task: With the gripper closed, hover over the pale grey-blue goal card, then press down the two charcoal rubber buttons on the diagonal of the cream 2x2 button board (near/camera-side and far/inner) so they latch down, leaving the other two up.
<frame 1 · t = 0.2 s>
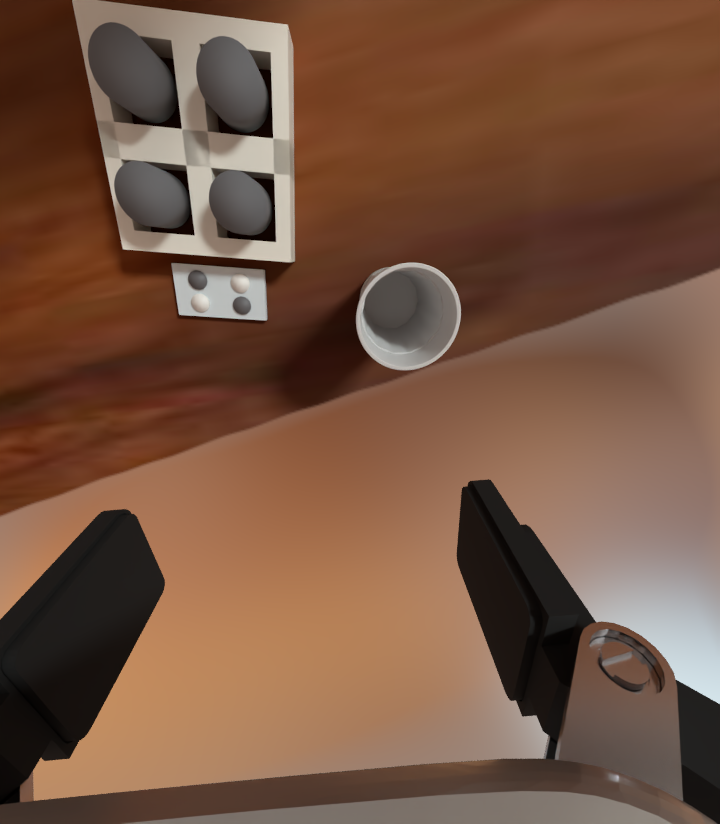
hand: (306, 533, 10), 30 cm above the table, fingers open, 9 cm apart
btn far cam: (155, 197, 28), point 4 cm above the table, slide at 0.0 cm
board: (209, 157, 30), on the table
goal card: (222, 292, 35), on the table
cup: (388, 298, 37), on the table
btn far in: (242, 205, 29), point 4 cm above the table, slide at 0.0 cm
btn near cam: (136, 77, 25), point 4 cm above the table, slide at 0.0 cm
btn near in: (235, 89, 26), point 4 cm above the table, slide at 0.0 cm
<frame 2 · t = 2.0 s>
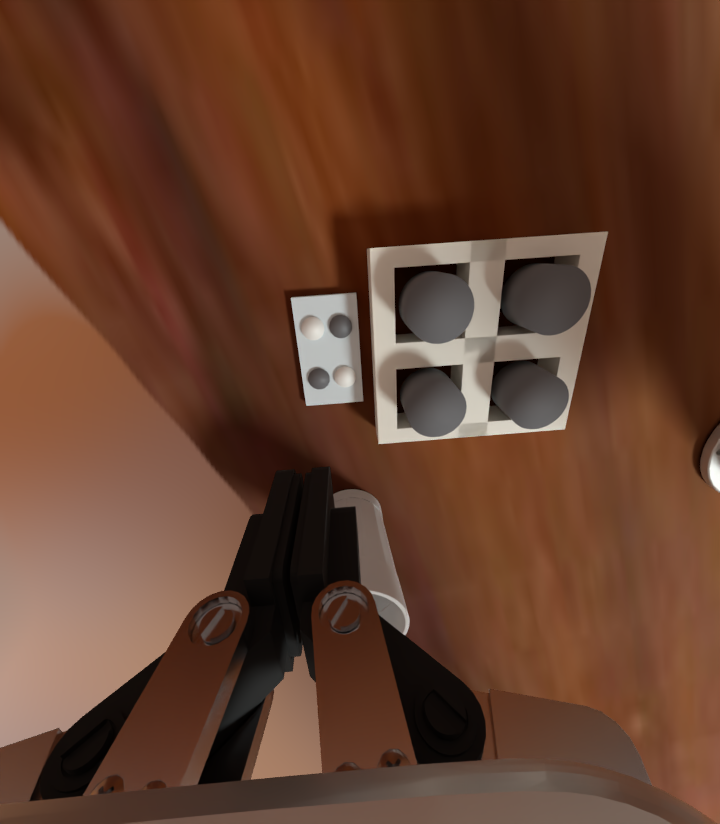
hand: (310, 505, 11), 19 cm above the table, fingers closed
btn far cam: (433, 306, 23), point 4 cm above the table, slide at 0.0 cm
board: (466, 341, 28), on the table
goal card: (329, 351, 28), on the table
cup: (351, 512, 36), on the table
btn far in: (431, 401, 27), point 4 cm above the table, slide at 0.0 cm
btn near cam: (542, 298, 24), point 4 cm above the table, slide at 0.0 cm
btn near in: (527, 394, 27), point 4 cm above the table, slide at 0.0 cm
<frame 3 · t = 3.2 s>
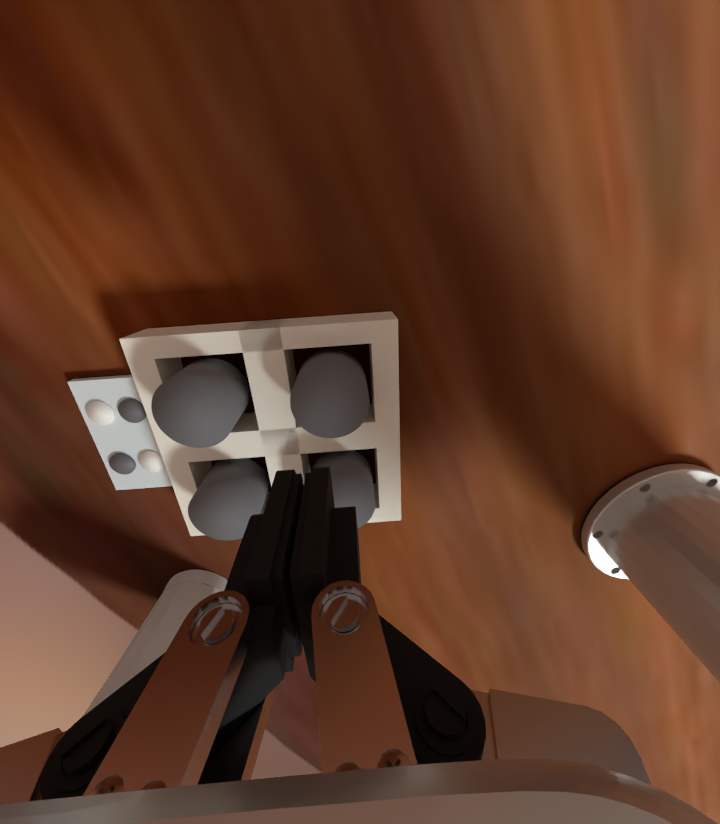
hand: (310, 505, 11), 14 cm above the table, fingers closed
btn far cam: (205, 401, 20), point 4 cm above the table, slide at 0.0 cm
board: (287, 422, 25), on the table
goal card: (132, 433, 25), on the table
cup: (201, 591, 33), on the table
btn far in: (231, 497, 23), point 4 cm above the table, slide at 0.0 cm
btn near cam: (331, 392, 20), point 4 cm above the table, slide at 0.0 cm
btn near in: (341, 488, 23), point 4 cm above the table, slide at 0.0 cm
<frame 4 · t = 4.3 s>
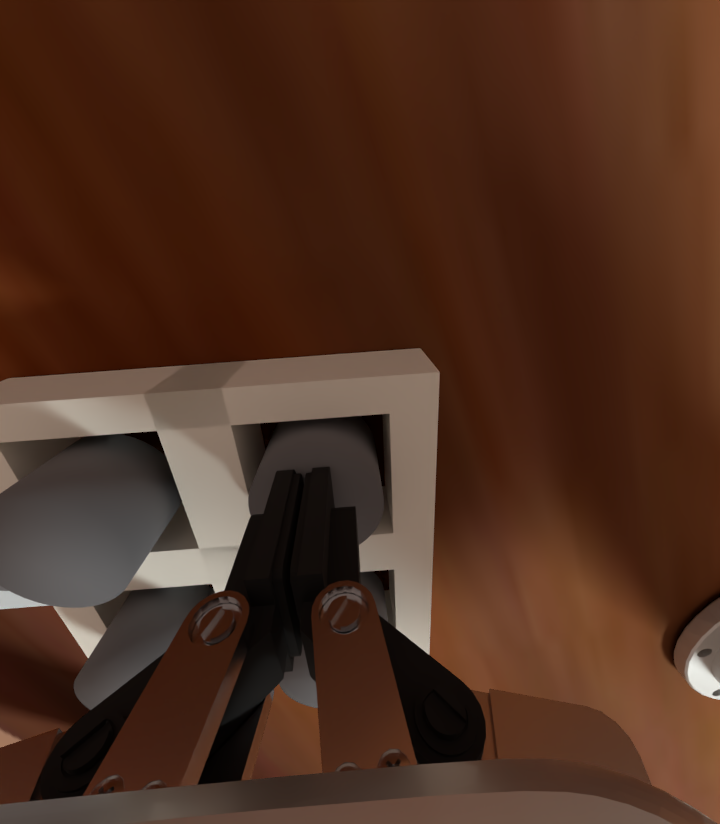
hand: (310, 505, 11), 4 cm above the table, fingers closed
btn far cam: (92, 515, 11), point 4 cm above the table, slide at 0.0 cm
board: (253, 512, 16), on the table
goal card: (14, 531, 16), on the table
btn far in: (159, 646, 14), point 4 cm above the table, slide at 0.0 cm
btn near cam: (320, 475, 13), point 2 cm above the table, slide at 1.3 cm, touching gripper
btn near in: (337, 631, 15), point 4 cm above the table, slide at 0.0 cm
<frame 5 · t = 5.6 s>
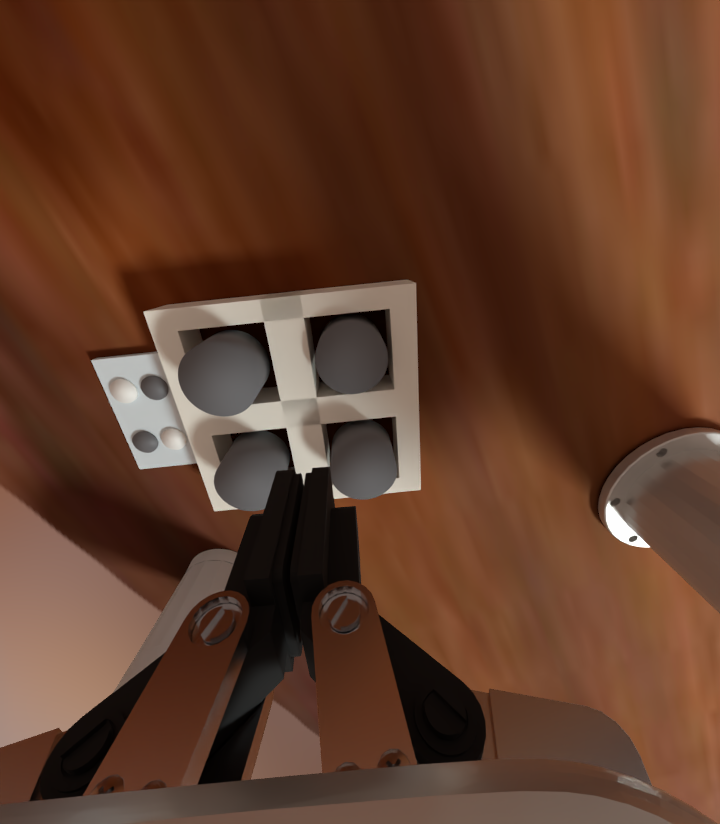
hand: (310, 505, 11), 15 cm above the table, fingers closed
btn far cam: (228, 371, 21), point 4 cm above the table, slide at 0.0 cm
board: (305, 396, 26), on the table
goal card: (154, 411, 26), on the table
cup: (223, 570, 33), on the table
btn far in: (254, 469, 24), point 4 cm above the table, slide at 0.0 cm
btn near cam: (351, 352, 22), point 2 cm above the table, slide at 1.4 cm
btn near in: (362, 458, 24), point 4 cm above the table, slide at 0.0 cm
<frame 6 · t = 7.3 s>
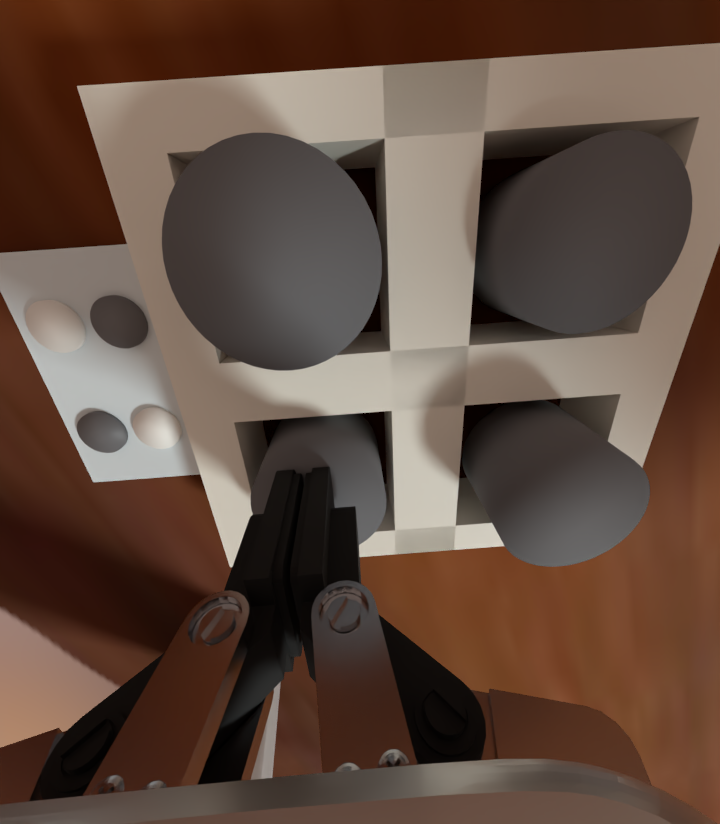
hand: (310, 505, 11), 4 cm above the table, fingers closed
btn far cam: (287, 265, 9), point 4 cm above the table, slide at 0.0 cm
board: (412, 354, 13), on the table
goal card: (121, 375, 13), on the table
cup: (234, 641, 21), on the table
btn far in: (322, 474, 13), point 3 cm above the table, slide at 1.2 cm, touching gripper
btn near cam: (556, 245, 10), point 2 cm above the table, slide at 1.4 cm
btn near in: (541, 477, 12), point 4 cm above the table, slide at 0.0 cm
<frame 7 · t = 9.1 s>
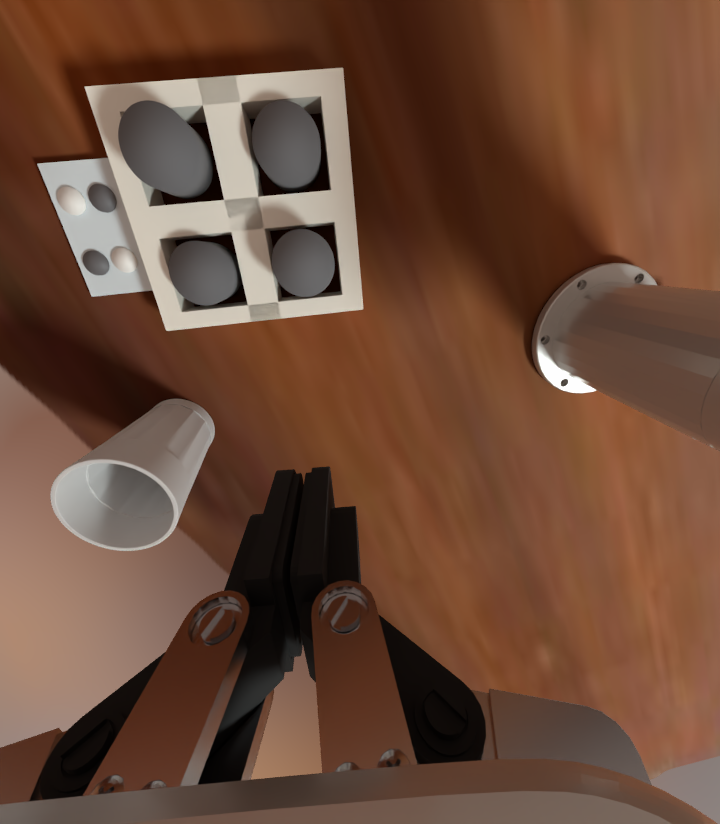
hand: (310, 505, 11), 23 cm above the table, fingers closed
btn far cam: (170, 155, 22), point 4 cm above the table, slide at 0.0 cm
board: (252, 218, 27), on the table
goal card: (104, 232, 27), on the table
cup: (182, 426, 34), on the table
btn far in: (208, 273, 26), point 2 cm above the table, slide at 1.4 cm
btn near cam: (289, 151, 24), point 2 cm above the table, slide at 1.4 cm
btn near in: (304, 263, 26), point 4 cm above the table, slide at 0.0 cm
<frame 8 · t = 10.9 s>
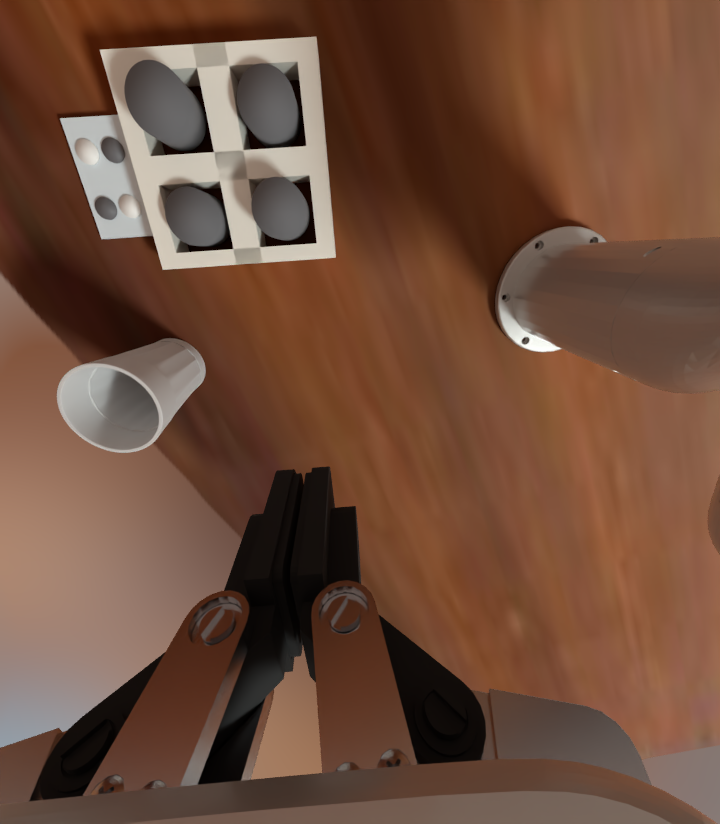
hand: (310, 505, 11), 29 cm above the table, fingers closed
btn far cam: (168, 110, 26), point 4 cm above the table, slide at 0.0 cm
board: (241, 173, 31), on the table
goal card: (114, 181, 31), on the table
cup: (177, 365, 38), on the table
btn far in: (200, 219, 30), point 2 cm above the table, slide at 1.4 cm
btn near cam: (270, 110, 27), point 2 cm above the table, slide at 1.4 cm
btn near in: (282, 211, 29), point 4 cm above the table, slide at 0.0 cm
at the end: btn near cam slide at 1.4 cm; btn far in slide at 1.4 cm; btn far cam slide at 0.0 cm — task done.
